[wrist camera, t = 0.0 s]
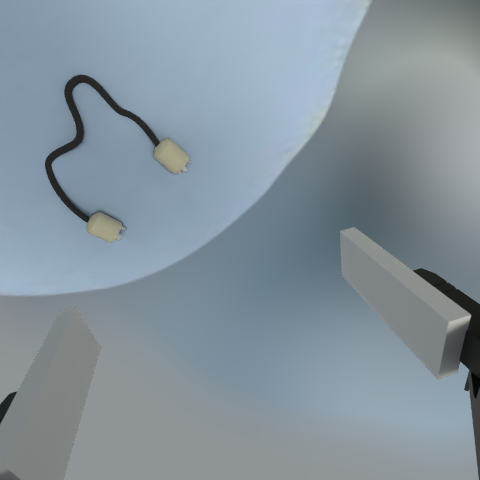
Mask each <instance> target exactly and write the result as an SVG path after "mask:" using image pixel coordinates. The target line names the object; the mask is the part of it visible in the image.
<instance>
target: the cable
mask: <svg viewBox="0 0 480 480" xmlns="http://www.w3.org/2000/svg"><path fill="white" fill-rule="evenodd" d="M82 82H84V83H88V84H90V85H91V86H92V87H94V88H95V89H96V90H97V91H98V92H99V94H100V95H101V96H102V97H103V98H104V99H105V100H106V102H107V103H108V104H109V105H110V106H111V107H112V108H113V109H114V110H115V111H116V112H117V113H119V114H120V115H123V116H126V117H128V118H130V119H132V120H133V121H135V122H136V123H137V124H138V125H139V126H140V127H141V128H142V129H143V130H144V131H145V132H146V134H147V135H148V136H149V138H150V139H151V140H152V142H153V143H154V145H155V146H156V147H155V149H154V152H153V153H154V158H155V159H156V160H157V161H159V162H160V163H161V164H162V165H163V166H165V167H166V168H167V169H168V170H169V171H171V172H172V173H173V174H177V173H179V174H182V172H181V171H180V170H183V171H185V172H186V171H187V170H188V168H187V167H186V166H185V165H186V163H187V162H189V163H190V164H191V162H190V161H189V155H188V154H187V153H186V152H185V151H183V150H182V149H181V148H180V147H179V146H178V145H177V144H176V143H175V142H173V141H172V140H171V139H170V138H168V139H163V140H162V141H159V140H158V139H157V137H156V136H155V134H154V133H153V132H152V131H151V129H150V128H149V127H148V126H147V125H146V124H145V122H144V121H143V120H141V119H140V118H139V117H138V116H136V115H135V114H133V113H131V112H130V111H127V110H124V109H122V108H121V107H120V106H118V105H117V104H116V102H115V101H114V100H113V99H112V98H111V97H110V96H109V94H108V93H107V92H106V91H105V90H104V89H103V87H102V86H101V85H100V84H99V83H98V82H96V81H95V80H94V79H92V78H90V77H88V76H85V75H78V76H75V77H73V78H72V79H71V80H69V81H68V82H67V84H66V86H65V98H66V101H67V104H68V106H69V109H70V111H71V113H72V116H73V118H74V121H75V124H76V130H77V133H76V138H75V139H74V140H73V141H72V142H70V143H69V144H67V145H65V146H62V147H60V148H58V149H57V150H55V151H53V152H52V153H51V154H50V155H49V156H48V157H47V159H46V162H45V168H46V172H47V175H48V178H49V180H50V183H51V185H52V187H53V189H54V190H55V192H56V193H57V195H58V196H59V197H60V199H61V200H62V201H63V202H64V204H65V205H66V206H67V207H68V208H69V209H70V210H71V211H72V212H73V213H75V214H76V215H77V216H78V217H80V218H81V219H82V220H84V221H85V222H87V227H86V228H87V232H88V233H90V234H92V235H94V236H97V237H99V238H101V239H103V240H105V241H108V242H110V243H112V242H113V241H114V240H119V239H122V237H123V236H122V235H120V234H119V231H120V229H123V230H126V228H125V227H124V226H122V223H121V222H119V221H117V220H115V219H113V218H111V217H109V216H107V215H105V214H103V213H101V212H97V213H95V214H94V215H92V216H91V217H88V216H87V215H85V214H84V213H83V212H81V211H80V210H79V209H78V208H77V207H76V206H75V205H73V204H72V202H71V201H70V200H69V199H68V198H67V197H66V195H65V194H64V193H63V191H62V190H61V188H60V186H59V184H58V183H57V181H56V178H55V176H54V173H53V170H52V166H51V164H52V162H53V161H54V160H55V159H56V158H57V157H58V156H60V155H62V154H64V153H66V152H68V151H70V150H72V149H74V148H75V147H77V146H78V145H79V144H80V143H81V142H82V140H83V135H84V131H83V124H82V121H81V118H80V115H79V113H78V110H77V108H76V106H75V103H74V101H73V97H72V90H73V88H74V87H75V86H76V85H77V84H79V83H82Z"/></svg>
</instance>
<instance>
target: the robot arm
mask: <svg viewBox="0 0 480 480" xmlns="http://www.w3.org/2000/svg"><path fill="white" fill-rule="evenodd" d="M340 241H341V265H342V276H343V277H344V278H345V279H346V280H347V282H348V283H349V284H350V285H351V286H352V287H353V288H354V289H355V290H356V291H357V292H358V294H359V295H360V296H361V297H362V298H363V299H364V300H365V301H366V302H367V303H368V304H369V306H370V307H371V308H372V309H373V310H374V311H375V312H376V313H377V314H378V315H379V316H380V317H381V319H382V320H383V321H384V322H385V323H386V324H387V325H388V326H389V327H390V328H391V329H392V330H393V331H394V333H395V334H396V335H397V336H398V337H399V338H400V339H401V340H402V341H403V343H404V344H405V345H406V346H407V347H408V348H409V349H410V350H411V351H412V352H413V353H414V354H415V355H416V357H417V358H418V359H419V360H420V361H421V362H422V363H423V364H424V365H425V366H426V368H427V369H428V370H429V371H430V372H431V373H432V374H433V375H434V376H435V377H436V378H437V379H441V378H443V377H447V376H450V375H453V374H455V373H457V372H458V368H459V364H460V361H461V362H462V363H463V364H464V365H465V366H466V367H467V368H468V369H469V374H468V377H467V381H466V384H465V389H464V390H466V391H468V390H470V398H471V409H472V417H473V427H474V436H475V446H476V455H477V465H478V475H479V480H480V304H478V303H477V302H476V301H474V300H473V299H471V298H470V297H468V296H467V295H465V294H464V293H463V292H461V291H460V290H458V289H456V288H455V287H454V286H453V285H451V284H449V283H447V282H446V281H445V280H444V279H442V278H441V277H440V276H438V275H437V274H435V273H432V272H430V271H427V270H424V269H417V270H414V271H412V270H411V269H409V268H408V267H407V266H405V265H404V264H403V263H401V262H400V261H399V260H397V259H396V258H395V257H393V256H392V255H390V254H389V253H388V252H387V251H385V250H384V249H383V248H381V247H380V246H379V245H377V244H376V243H375V242H373V241H372V240H371V239H369V238H368V237H367V236H365V235H364V234H363V233H361V232H360V231H359V230H357V229H356V228H350V229H347V230H343V231H340ZM100 349H101V346H100V345H99V343H98V341H97V340H96V338H95V336H94V335H93V333H92V332H91V330H90V329H89V327H88V325H87V323H86V322H85V320H84V319H83V317H82V315H81V314H80V312H79V311H78V309H77V307H76V306H75V307H72V308H68V309H65V310H61V311H59V312H58V314H57V316H56V318H55V320H54V322H53V324H52V326H51V328H50V330H49V332H48V334H47V336H46V338H45V339H44V341H43V343H42V345H41V347H40V349H39V351H38V353H37V355H36V357H35V359H34V361H33V363H32V364H31V366H30V369H29V370H28V372H27V374H26V376H25V378H24V380H23V382H22V384H21V386H20V388H19V389H18V391H17V392H14V393H11V394H9V395H8V396H7V397H6V398H5V400H4V401H3V402H2V403H1V404H0V480H64V476H65V472H66V469H67V466H68V462H69V459H70V455H71V451H72V448H73V445H74V441H75V437H76V434H77V430H78V426H79V423H80V420H81V416H82V412H83V409H84V406H85V402H86V398H87V395H88V391H89V388H90V384H91V381H92V377H93V374H94V370H95V367H96V363H97V360H98V356H99V352H100Z"/></svg>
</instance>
